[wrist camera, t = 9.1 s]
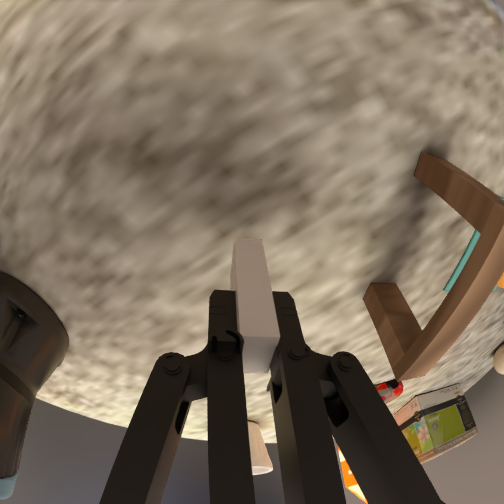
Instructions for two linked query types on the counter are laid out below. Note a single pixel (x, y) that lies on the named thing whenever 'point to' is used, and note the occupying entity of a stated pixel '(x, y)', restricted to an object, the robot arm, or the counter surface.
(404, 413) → the tea box
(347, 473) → the orange juice
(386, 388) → the race car
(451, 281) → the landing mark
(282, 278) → the counter surface
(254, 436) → the cup
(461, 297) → the bridge
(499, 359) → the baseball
